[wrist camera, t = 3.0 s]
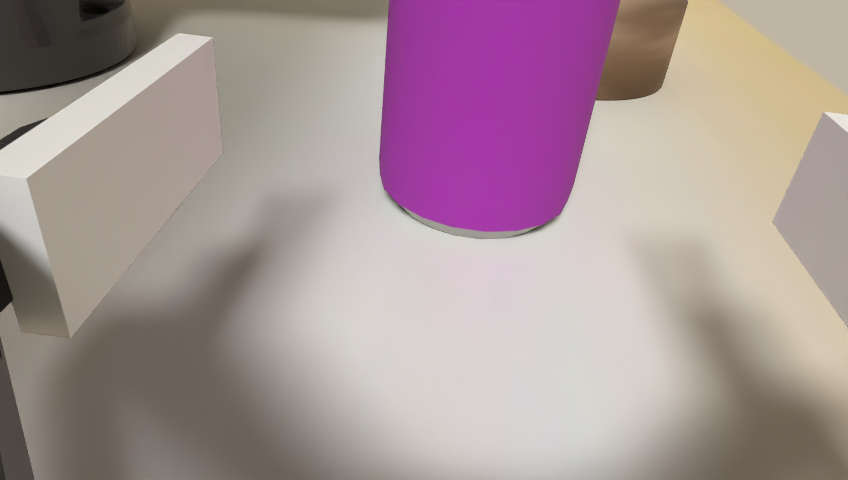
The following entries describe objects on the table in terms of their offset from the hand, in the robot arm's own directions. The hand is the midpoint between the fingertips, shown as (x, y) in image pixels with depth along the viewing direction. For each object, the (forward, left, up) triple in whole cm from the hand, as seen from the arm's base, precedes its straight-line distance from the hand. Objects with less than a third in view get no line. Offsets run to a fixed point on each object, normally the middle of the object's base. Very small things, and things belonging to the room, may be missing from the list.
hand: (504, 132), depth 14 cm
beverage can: (-7, +7, -7) cm, 12 cm away
